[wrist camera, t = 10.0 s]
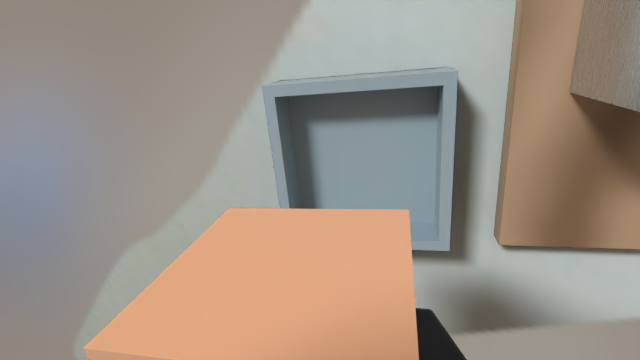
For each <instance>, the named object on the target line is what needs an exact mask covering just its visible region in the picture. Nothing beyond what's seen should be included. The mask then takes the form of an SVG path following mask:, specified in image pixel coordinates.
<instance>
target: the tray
mask: <svg viewBox="0 0 640 360" xmlns="http://www.w3.org/2000/svg"><path fill="white" fill-rule="evenodd" d="M457 81H458V71H457V70H455V69H453V68H451V67H441V68H429V69H417V70H405V71H392V72H380V73H368V74H355V75H343V76H331V77H318V78H306V79H294V80H281V81H277V82H274V83H271V84H267V85H264V86H262V89H263V96H264V103H265V110H266V117H267V124H268V130H269V137H270V144H271V151H272V158H273V164H274V171H275V178H276V185H277V192H278V198H279V205H280V209H396V210H409V217H410V232H411V247H412V250H432V251H450V230H451V208H452V187H453V166H454V145H455V123H456V102H457Z"/></svg>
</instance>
